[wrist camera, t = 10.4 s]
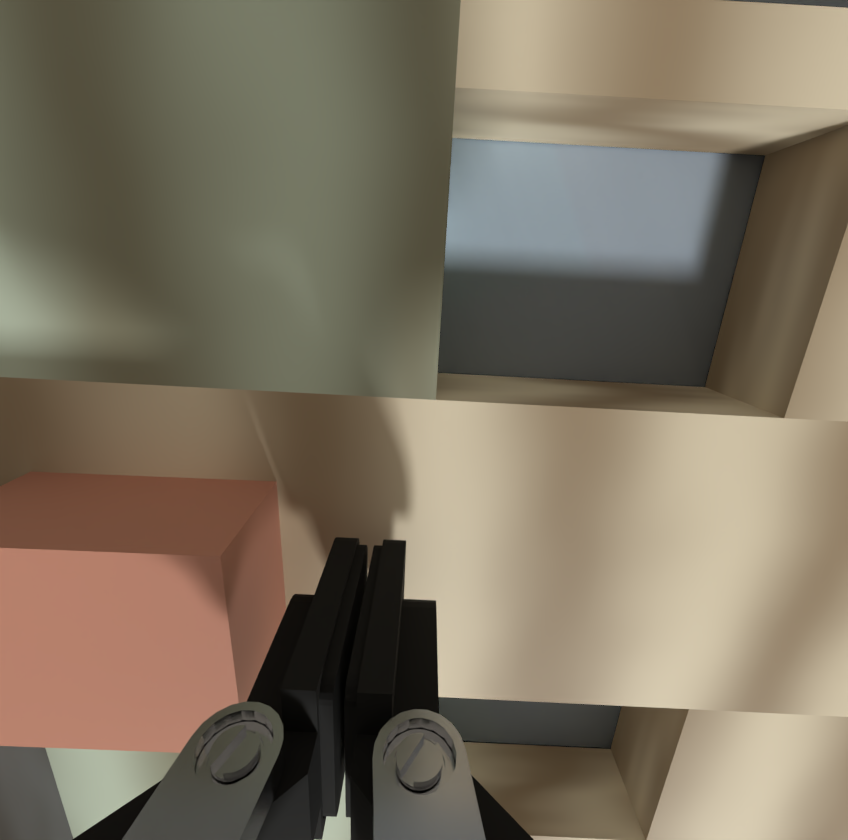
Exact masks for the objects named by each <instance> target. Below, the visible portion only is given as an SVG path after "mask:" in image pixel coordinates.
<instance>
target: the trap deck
mask: <svg viewBox="0 0 848 840" xmlns="http://www.w3.org/2000/svg"><path fill="white" fill-rule="evenodd" d="M452 138H463V139H481V140H499V141H517V142H535V143H552V144H570V145H588V146H606V147H624V148H641V149H659V150H677V151H695V152H713V153H730V154H748V155H765V158H764V162H763V166H762V170H761V174H760V178H759V181H758V185H757V189H756V193H755V197H754V201H753V204H752V208H751V212H750V216H749V220H748V224H747V227H746V231H745V235H744V239H743V243H742V247H741V251H740V254H739V258H738V262H737V266H736V270H735V274H734V277H733V281H732V285H731V289H730V293H729V297H728V300H727V304H726V308H725V312H724V316H723V320H722V323H721V327H720V331H719V335H718V339H717V343H716V346H715V350H714V354H713V358H712V362H711V366H710V369H709V373H708V377H707V381H706V385H705V387H695V386H676V385H657V384H638V383H619V382H600V381H582V380H563V379H544V378H525V377H506V376H487V375H468V374H450V373H438V357H439V341H440V325H441V309H442V293H443V277H444V261H445V245H446V228H447V212H448V196H449V180H450V164H451V148H452ZM29 472H53V473H78V474H103V475H128V476H153V477H178V478H203V479H228V480H253V481H277V493H278V507H279V520H280V534H281V547H282V561H283V574H284V588H285V601H286V609H287V606H288V604H289V602H290V600H291V598H292V596H293V595H294V594H309V595H314V594H315V592H316V589H317V586H318V583H319V580H320V578H321V575H322V572H323V569H324V567H325V564H326V561H327V558H328V556H329V553H330V550H331V547H332V544H333V542H334V539H335V538H336V537H344V538H359V542H360V545H367V547H368V569H367V577H368V572H369V567H370V562H371V557H372V552H373V547H374V545H381V546H382V544H383V540H384V539H387V540H406V559H405V584H404V599H416V600H436V613H437V655H438V697H450V698H470V699H491V700H511V701H532V702H552V703H573V704H593V705H614V706H622V707H621V711H620V715H619V719H618V722H617V726H616V730H615V734H614V738H613V742H612V745H611V749H599V748H578V747H557V746H537V745H516V744H495V743H474V742H463V743H464V746H465V748H466V753H467V757H468V762H469V766H470V771H471V775H472V776H473V777H474V778H475V779H476V780H477V781H478V782H479V783H480V784H481V785H482V786H483V787H484V788H485V789H486V790H487V791H488V793H489V794H490V795H491V796H492V797H493V798H494V799H495V800H496V801H497V802H498V803H499V804H500V805H501V806H502V807H503V808H504V809H505V810H506V811H507V812H508V813H509V814H510V815H511V816H512V817H513V818H514V820H515V821H516V822H517V823H518V824H519V825H520V826H521V827H522V828H523V829H524V830H525V831H526V832H527V833H528V834H529V835H530V836H531V837H532V838H533V839H534V840H848V8H844V7H827V6H810V5H793V4H776V3H758V2H741V1H724V0H0V486H2V485H4V484H6V483H8V482H10V481H12V480H14V479H16V478H18V477H20V476H22V475H25V474H27V473H29ZM179 754H180V753H171V752H145V751H120V750H94V749H68V748H42V747H17V746H0V840H72V839H74V838H75V837H77V836H78V835H80V834H81V833H83V832H84V831H86V830H87V829H89V828H90V827H92V826H93V825H95V824H96V823H98V822H99V821H101V820H102V819H104V818H105V817H107V816H108V815H110V814H111V813H113V812H114V811H116V810H117V809H119V808H120V807H122V806H123V805H125V804H126V803H128V802H129V801H131V800H132V799H134V798H135V797H137V796H138V795H140V794H141V793H143V792H144V791H146V790H147V789H149V788H150V787H152V786H153V785H155V784H156V783H158V782H159V781H161V780H162V779H163V778H164V776H165V775H166V773H167V772H168V770H169V769H170V767H171V766H172V764H173V763H174V761H175V760H176V758H177V757H178V755H179ZM314 840H317V839H314ZM322 840H351V817H346V803H345V775H344V780H343V786H342V792H341V798H340V804H339V809H338V814H337V817H330V816H326V821H325V827H324V832H323V837H322Z"/></svg>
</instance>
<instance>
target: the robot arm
mask: <svg viewBox="0 0 848 840" xmlns="http://www.w3.org/2000/svg"><path fill="white" fill-rule="evenodd" d="M405 559H406V540H387V539H384V540H383V544H382V546H381V545H374V547H373V552H372V557H371V562H370V567H369V572H368V577H367V569H368V547H367V545H360V542H359V538H344V537H336V538H335V539H334V542H333V544H332V547H331V550H330V553H329V556H328V558H327V561H326V564H325V567H324V569H323V572H322V575H321V578H320V580H319V583H318V586H317V589H316V592H315V594H314V595H309V594H294V595H293V596H292V598H291V600H290V602H289V604H288V606H287V609H286V611H285V613H284V616H283V618H282V620H281V623H280V625H279V627H278V630H277V632H276V634H275V637H274V639H273V641H272V644H271V646H270V648H269V651H268V653H267V655H266V658H265V660H264V662H263V665H262V667H261V669H260V671H259V674H258V676H257V678H256V681H255V683H254V685H253V688H252V690H251V692H250V695H249V697H248V699H247V702H242V703H237V704H233V705H230V706H228V707H226V708H224V709H222V710H220V711H218V712H216V713H215V714H213V715H212V716H211V717H209V718H208V719H207V720H206V721H204V722H203V723H202V724H201V725H200V727H199V728H198V729H197V730H196V731H195V733H194V734H193V735H192V736H191V738H190V739H189V741H188V742H187V744H186V745H185V746H184V748H183V749H182V751H181V752H180V754H179V755H178V757H177V758H176V760H175V761H174V763H173V764H172V766H171V767H170V769H169V770H168V772H167V773H166V775H165V776H164V778H163V779H162V780H161V781H159V782H158V783H156V784H155V785H153V786H152V787H150V788H149V789H147V790H146V791H144V792H143V793H141V794H140V795H138V796H137V797H135V798H134V799H132V800H131V801H129V802H128V803H126V804H125V805H123V806H122V807H120V808H119V809H117V810H116V811H114V812H113V813H111V814H110V815H108V816H107V817H105V818H104V819H102V820H101V821H99V822H98V823H96V824H95V825H93V826H92V827H90V828H89V829H87V830H86V831H84V832H83V833H81V834H80V835H78V836H77V837H75V838H74V839H72V840H314V839H317V840H322V837H323V832H324V827H325V821H326V816H330V817H337V814H338V809H339V804H340V798H341V792H342V786H343V780H344V775H345V803H346V817H351V840H534V839H533V838H532V837H531V836H530V835H529V834H528V833H527V832H526V831H525V830H524V829H523V828H522V827H521V826H520V825H519V824H518V823H517V822H516V821H515V820H514V818H513V817H512V816H511V815H510V814H509V813H508V812H507V811H506V810H505V809H504V808H503V807H502V806H501V805H500V804H499V803H498V802H497V801H496V800H495V799H494V798H493V797H492V796H491V795H490V794H489V793H488V791H487V790H486V789H485V788H484V787H483V786H482V785H481V784H480V783H479V782H478V781H477V780H476V779H475V778H474V777H473V776H472V775H471V771H470V766H469V762H468V757H467V753H466V748H465V746H464V743H463V740H462V738H461V735H460V733H459V732H458V731H457V729H456V728H455V727H454V725H453V724H452V723H451V722H450V721H448V720H447V719H446V718H444V717H443V716H442V715H440V714H439V698H438V655H437V613H436V600H416V599H404V584H405Z"/></svg>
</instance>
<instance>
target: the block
mask: <svg viewBox="0 0 848 840" xmlns="http://www.w3.org/2000/svg"><path fill="white" fill-rule="evenodd" d="M285 611H286V601H285V588H284V574H283V561H282V547H281V534H280V520H279V507H278V493H277V481H253V480H228V479H203V478H178V477H153V476H128V475H103V474H78V473H53V472H29V473H27V474H25V475H22V476H20V477H18V478H16V479H14V480H12V481H10V482H8V483H6V484H4V485H2V486H0V746H17V747H42V748H68V749H94V750H120V751H145V752H171V753H180V752H181V751H182V749H183V748H184V746H185V745H186V744H187V742H188V741H189V739H190V738H191V736H192V735H193V734H194V733H195V731H196V730H197V729H198V728H199V727H200V725H201V724H202V723H203V722H204V721H206V720H207V719H208V718H209V717H211V716H212V715H213V714H215V713H216V712H218V711H220V710H222V709H224V708H226V707H228V706H230V705H233V704H237V703H242V702H247V699H248V697H249V695H250V692H251V690H252V688H253V685H254V683H255V681H256V678H257V676H258V674H259V671H260V669H261V667H262V665H263V662H264V660H265V658H266V655H267V653H268V651H269V648H270V646H271V644H272V641H273V639H274V637H275V634H276V632H277V630H278V627H279V625H280V623H281V620H282V618H283V616H284V613H285Z"/></svg>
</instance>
